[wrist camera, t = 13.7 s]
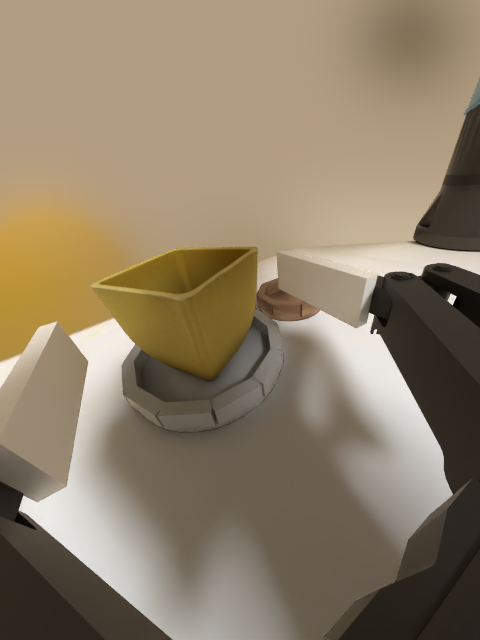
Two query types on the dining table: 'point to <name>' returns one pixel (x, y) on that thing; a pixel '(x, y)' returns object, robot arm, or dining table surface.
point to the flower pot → (186, 305)
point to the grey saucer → (206, 383)
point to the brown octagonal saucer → (282, 304)
